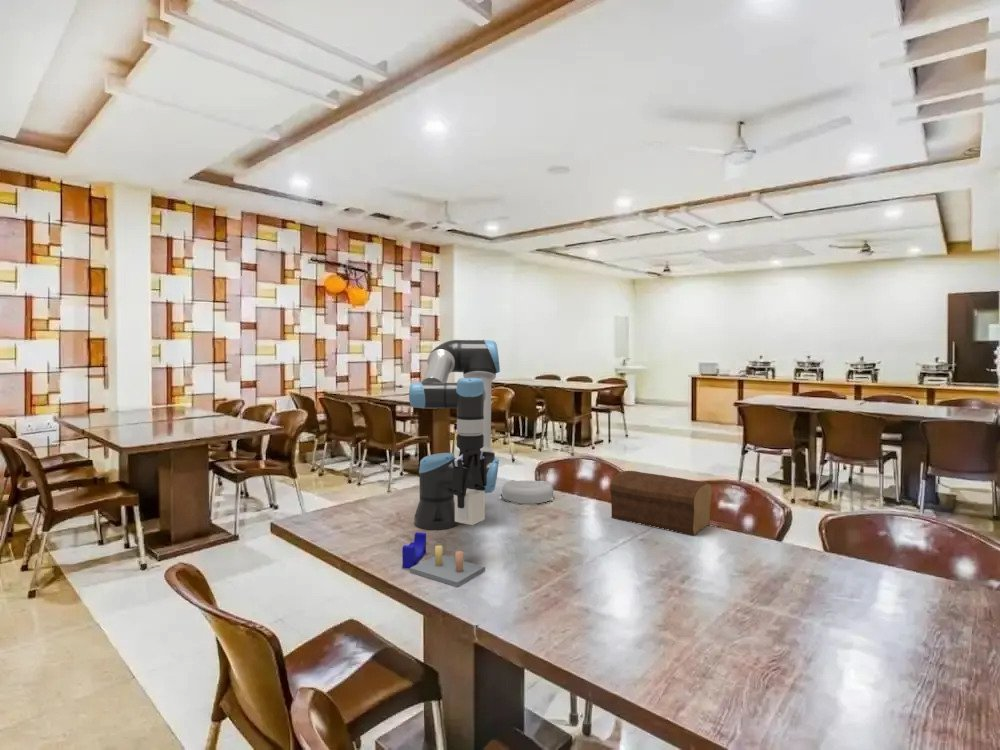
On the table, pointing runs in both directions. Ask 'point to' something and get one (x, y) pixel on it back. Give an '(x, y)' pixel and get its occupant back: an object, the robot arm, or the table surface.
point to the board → (447, 568)
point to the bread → (661, 501)
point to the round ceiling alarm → (527, 491)
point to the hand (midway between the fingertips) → (469, 515)
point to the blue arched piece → (414, 551)
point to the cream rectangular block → (473, 507)
